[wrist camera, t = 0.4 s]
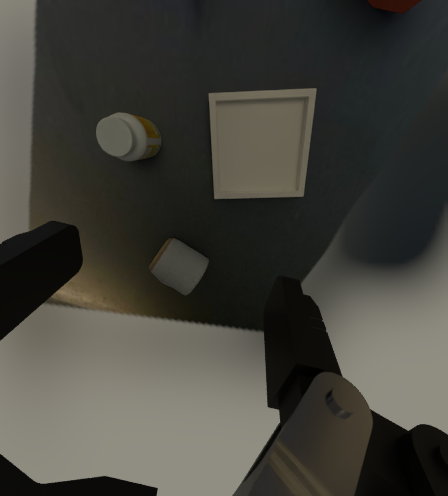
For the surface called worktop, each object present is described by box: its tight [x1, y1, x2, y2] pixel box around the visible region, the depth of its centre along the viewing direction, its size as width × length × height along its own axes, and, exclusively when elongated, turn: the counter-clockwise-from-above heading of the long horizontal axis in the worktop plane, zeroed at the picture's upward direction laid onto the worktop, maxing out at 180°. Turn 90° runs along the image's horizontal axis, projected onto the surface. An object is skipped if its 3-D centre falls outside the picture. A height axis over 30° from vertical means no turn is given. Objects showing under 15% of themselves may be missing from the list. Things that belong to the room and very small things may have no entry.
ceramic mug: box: [149, 238, 209, 295], centre depth 39 cm, size 11×8×8 cm
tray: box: [209, 88, 317, 199], centre depth 32 cm, size 14×14×2 cm
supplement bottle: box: [96, 113, 161, 161], centre depth 29 cm, size 5×5×10 cm
